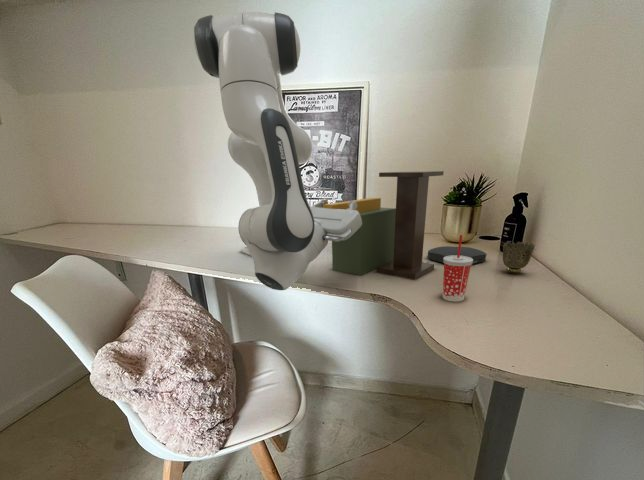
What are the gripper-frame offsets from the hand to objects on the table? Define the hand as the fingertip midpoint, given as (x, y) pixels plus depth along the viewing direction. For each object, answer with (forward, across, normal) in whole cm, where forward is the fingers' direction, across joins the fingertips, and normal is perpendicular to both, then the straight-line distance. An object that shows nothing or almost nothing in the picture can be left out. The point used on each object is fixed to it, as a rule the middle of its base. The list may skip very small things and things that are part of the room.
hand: (339, 202), depth 85 cm
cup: (+15, -38, +31) cm, 51 cm away
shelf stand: (+2, -13, +23) cm, 27 cm away
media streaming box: (+19, -20, +33) cm, 43 cm away
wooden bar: (+4, 0, +6) cm, 7 cm away
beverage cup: (-10, -32, +17) cm, 37 cm away
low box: (0, 0, +22) cm, 22 cm away
